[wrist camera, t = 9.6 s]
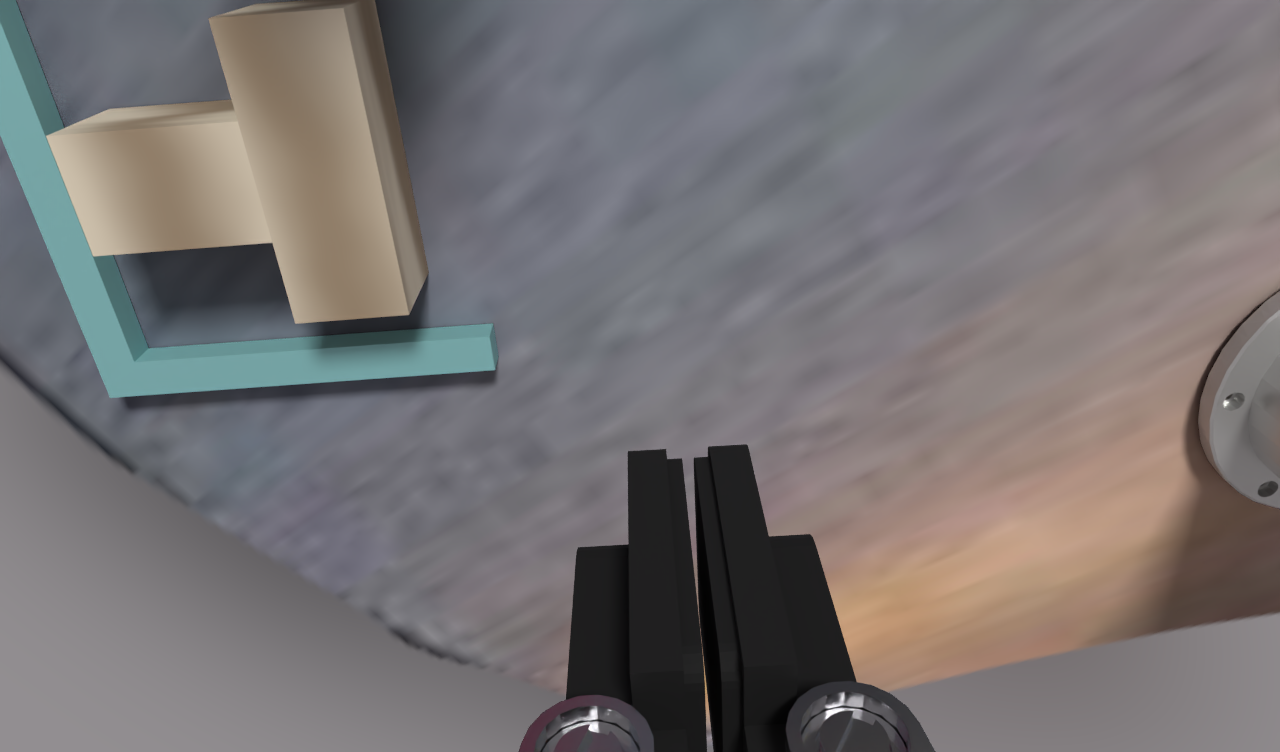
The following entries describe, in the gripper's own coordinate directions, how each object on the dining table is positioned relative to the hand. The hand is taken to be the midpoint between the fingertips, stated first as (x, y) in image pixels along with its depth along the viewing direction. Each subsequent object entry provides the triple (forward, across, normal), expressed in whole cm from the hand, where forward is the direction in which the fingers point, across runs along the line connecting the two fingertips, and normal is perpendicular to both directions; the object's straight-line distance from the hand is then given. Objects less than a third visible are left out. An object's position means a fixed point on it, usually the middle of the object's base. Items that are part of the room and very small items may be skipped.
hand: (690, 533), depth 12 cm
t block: (+22, +14, -1) cm, 26 cm away
